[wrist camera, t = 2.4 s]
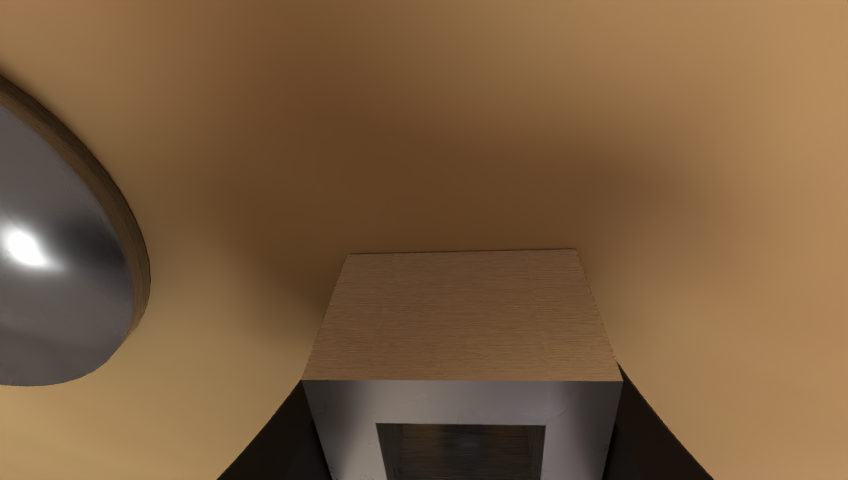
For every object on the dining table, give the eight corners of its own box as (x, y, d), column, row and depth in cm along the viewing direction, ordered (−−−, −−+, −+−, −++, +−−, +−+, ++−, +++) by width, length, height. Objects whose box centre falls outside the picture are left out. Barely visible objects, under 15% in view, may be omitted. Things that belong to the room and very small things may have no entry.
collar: (557, 402, 14) (587, 545, 11) (376, 401, 15) (350, 537, 11) (575, 249, 11) (623, 380, 8) (347, 254, 12) (300, 379, 8)
